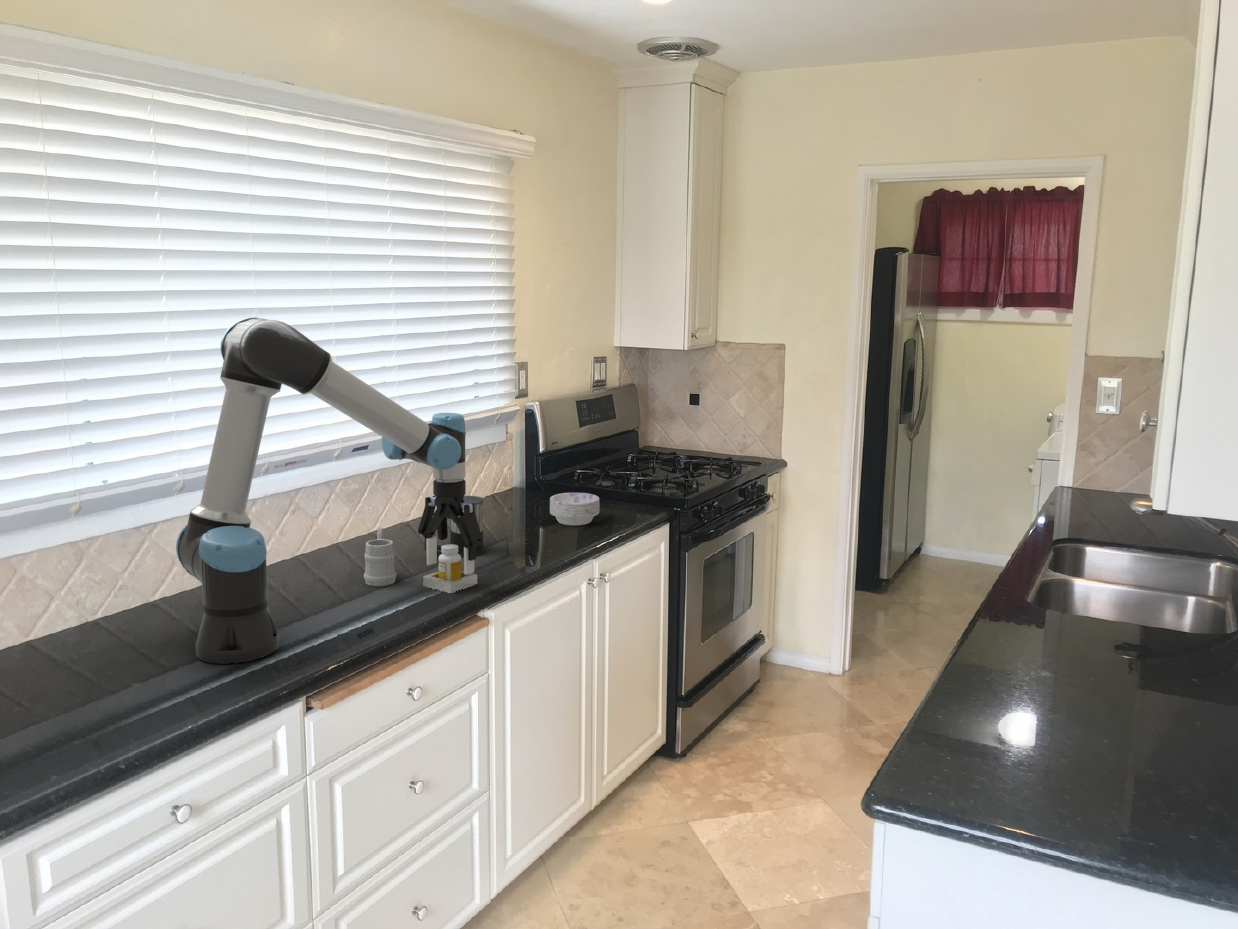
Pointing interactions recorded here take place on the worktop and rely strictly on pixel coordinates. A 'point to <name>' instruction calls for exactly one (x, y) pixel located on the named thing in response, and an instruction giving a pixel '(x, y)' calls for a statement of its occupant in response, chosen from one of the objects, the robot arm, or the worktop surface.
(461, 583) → the square picture frame
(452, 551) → the supplement bottle
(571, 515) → the paper bowls
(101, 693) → the worktop surface
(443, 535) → the milk frother
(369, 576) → the mug
